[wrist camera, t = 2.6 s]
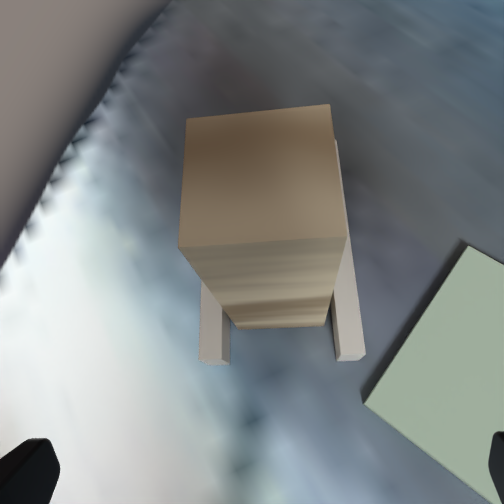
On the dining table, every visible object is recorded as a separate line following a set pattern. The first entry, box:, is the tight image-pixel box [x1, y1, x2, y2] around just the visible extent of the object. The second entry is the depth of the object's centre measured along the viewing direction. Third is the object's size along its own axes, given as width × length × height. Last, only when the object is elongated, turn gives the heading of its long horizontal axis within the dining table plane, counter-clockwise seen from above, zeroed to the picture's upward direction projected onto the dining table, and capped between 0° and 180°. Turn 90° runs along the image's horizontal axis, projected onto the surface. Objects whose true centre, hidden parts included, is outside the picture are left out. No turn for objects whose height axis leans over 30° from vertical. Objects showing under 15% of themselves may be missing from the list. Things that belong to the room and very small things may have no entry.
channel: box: [199, 140, 366, 366], centre depth 23 cm, size 13×8×2 cm, turn 1°
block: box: [178, 104, 347, 330], centre depth 17 cm, size 5×5×12 cm
